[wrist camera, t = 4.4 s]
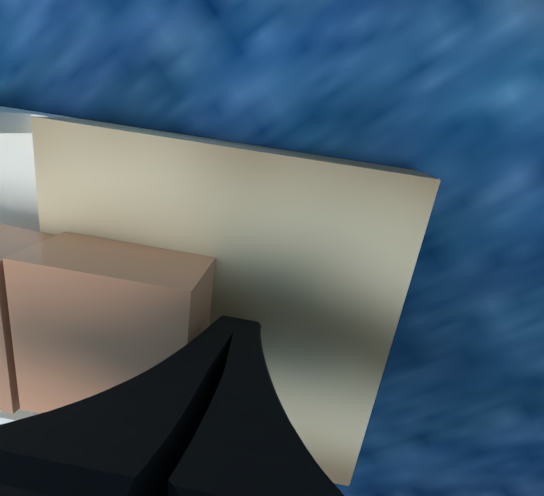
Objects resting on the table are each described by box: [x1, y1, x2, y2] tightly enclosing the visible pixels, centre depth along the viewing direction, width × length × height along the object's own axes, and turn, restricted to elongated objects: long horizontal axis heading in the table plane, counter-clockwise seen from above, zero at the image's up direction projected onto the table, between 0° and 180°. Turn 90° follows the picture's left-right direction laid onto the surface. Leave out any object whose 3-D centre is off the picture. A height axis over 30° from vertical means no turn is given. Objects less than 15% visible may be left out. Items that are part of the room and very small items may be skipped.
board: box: [31, 116, 441, 486], centre depth 13 cm, size 12×12×2 cm
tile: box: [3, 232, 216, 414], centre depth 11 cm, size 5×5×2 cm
